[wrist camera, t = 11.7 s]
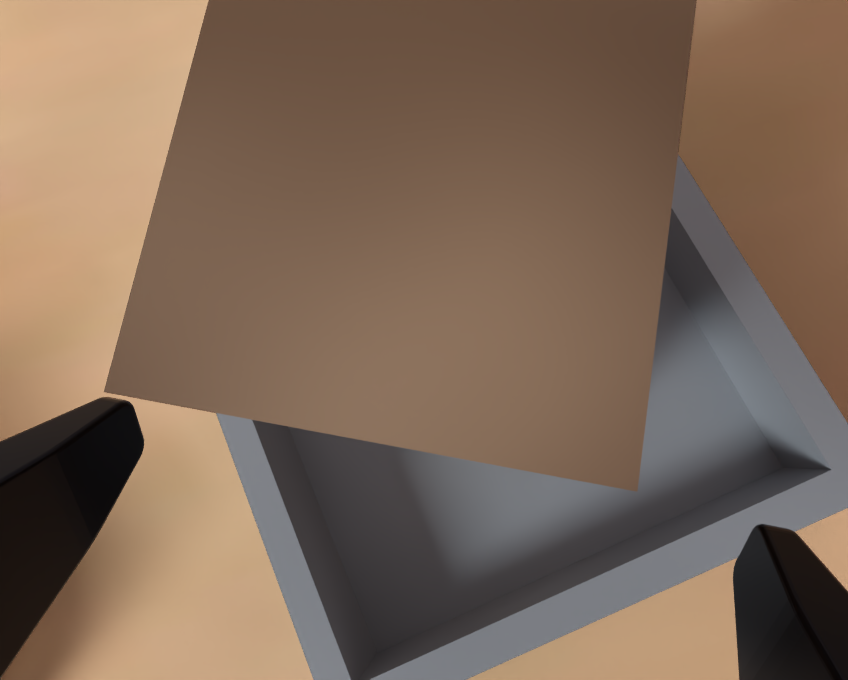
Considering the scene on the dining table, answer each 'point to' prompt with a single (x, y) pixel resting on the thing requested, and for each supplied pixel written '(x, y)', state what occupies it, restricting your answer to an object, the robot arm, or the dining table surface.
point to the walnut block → (419, 226)
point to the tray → (552, 494)
